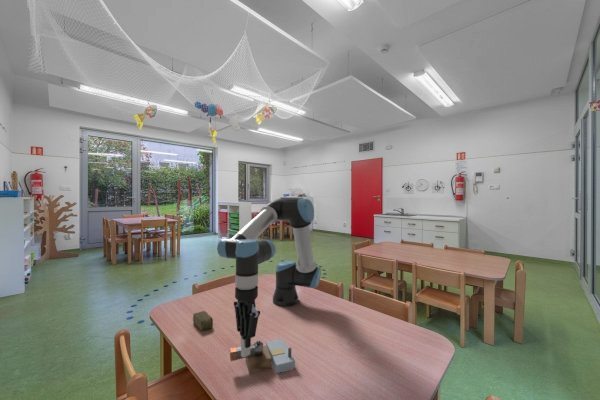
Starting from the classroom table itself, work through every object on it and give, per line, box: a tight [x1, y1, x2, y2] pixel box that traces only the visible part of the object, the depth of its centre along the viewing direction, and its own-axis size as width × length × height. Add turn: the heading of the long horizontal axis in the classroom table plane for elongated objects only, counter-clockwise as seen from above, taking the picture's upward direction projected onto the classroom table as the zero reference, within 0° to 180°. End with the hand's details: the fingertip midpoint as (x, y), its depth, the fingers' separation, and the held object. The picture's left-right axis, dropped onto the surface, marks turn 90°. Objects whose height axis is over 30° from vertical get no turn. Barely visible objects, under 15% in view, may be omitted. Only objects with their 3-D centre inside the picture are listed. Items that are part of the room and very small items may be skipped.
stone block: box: [192, 310, 214, 331], centre depth 121 cm, size 6×12×5 cm, turn 43°
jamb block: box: [244, 345, 272, 375], centre depth 94 cm, size 8×8×4 cm
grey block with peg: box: [265, 338, 296, 374], centre depth 97 cm, size 7×15×6 cm, turn 21°
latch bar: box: [229, 340, 264, 362], centre depth 92 cm, size 12×4×4 cm, turn 111°
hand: (245, 355), depth 86 cm, fingers closed
